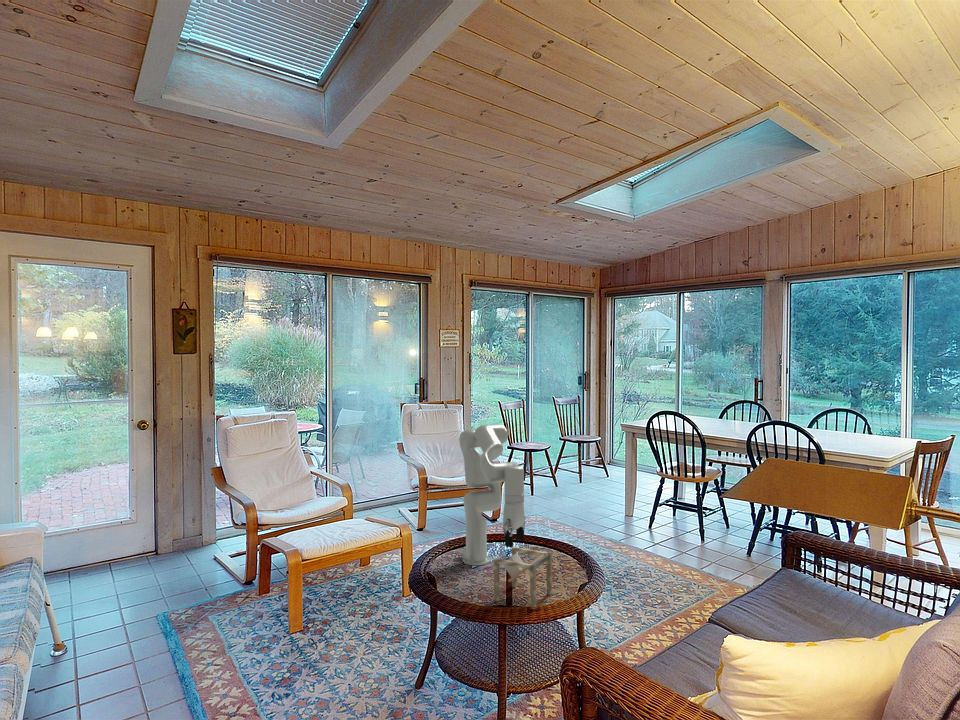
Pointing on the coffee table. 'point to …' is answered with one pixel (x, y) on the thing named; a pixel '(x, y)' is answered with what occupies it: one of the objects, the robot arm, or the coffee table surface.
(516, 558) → the smooth gray block
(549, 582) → the trapdoor frame
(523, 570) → the trapdoor
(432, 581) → the coffee table surface
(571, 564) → the coffee table surface
